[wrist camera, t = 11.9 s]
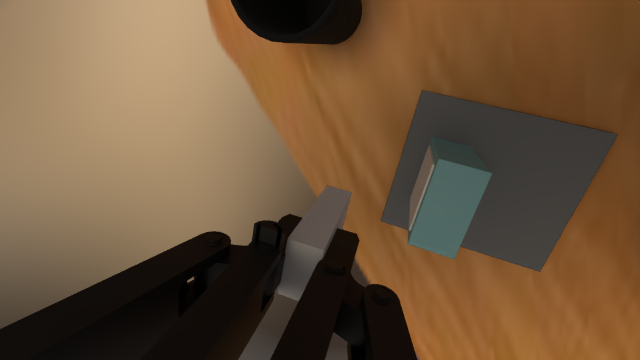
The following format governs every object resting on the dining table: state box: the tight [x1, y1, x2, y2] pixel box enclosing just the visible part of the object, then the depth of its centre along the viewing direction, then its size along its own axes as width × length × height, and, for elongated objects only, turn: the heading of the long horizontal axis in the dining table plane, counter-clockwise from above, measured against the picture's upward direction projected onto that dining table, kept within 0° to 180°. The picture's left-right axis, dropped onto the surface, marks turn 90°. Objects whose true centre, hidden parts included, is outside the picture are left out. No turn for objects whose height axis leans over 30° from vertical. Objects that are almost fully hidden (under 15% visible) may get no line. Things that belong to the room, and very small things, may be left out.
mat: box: [381, 90, 618, 272], centre depth 29 cm, size 14×16×1 cm
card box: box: [408, 137, 492, 259], centre depth 26 cm, size 4×7×9 cm, turn 167°
